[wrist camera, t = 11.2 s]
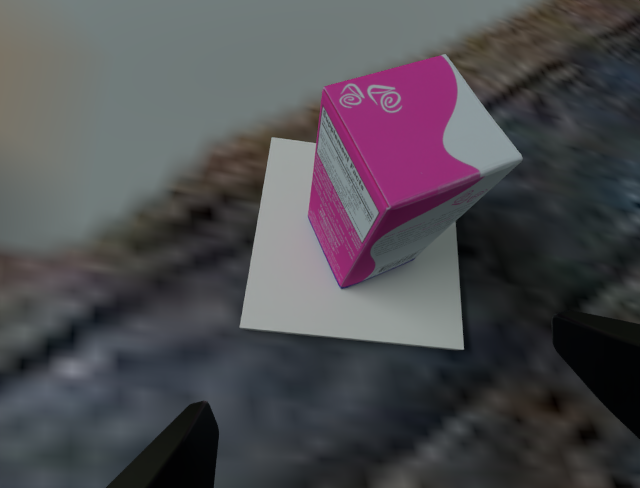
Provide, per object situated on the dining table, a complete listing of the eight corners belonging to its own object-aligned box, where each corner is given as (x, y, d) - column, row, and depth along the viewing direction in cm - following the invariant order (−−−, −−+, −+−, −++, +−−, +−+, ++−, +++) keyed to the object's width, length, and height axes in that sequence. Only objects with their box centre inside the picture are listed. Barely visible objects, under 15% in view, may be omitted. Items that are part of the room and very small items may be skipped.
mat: (456, 350, 22) (463, 349, 21) (241, 329, 21) (239, 327, 20) (445, 169, 26) (451, 162, 26) (272, 145, 26) (271, 137, 25)
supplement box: (377, 188, 24) (451, 47, 13) (415, 260, 22) (535, 165, 12) (303, 214, 23) (320, 79, 12) (338, 292, 21) (394, 217, 10)
